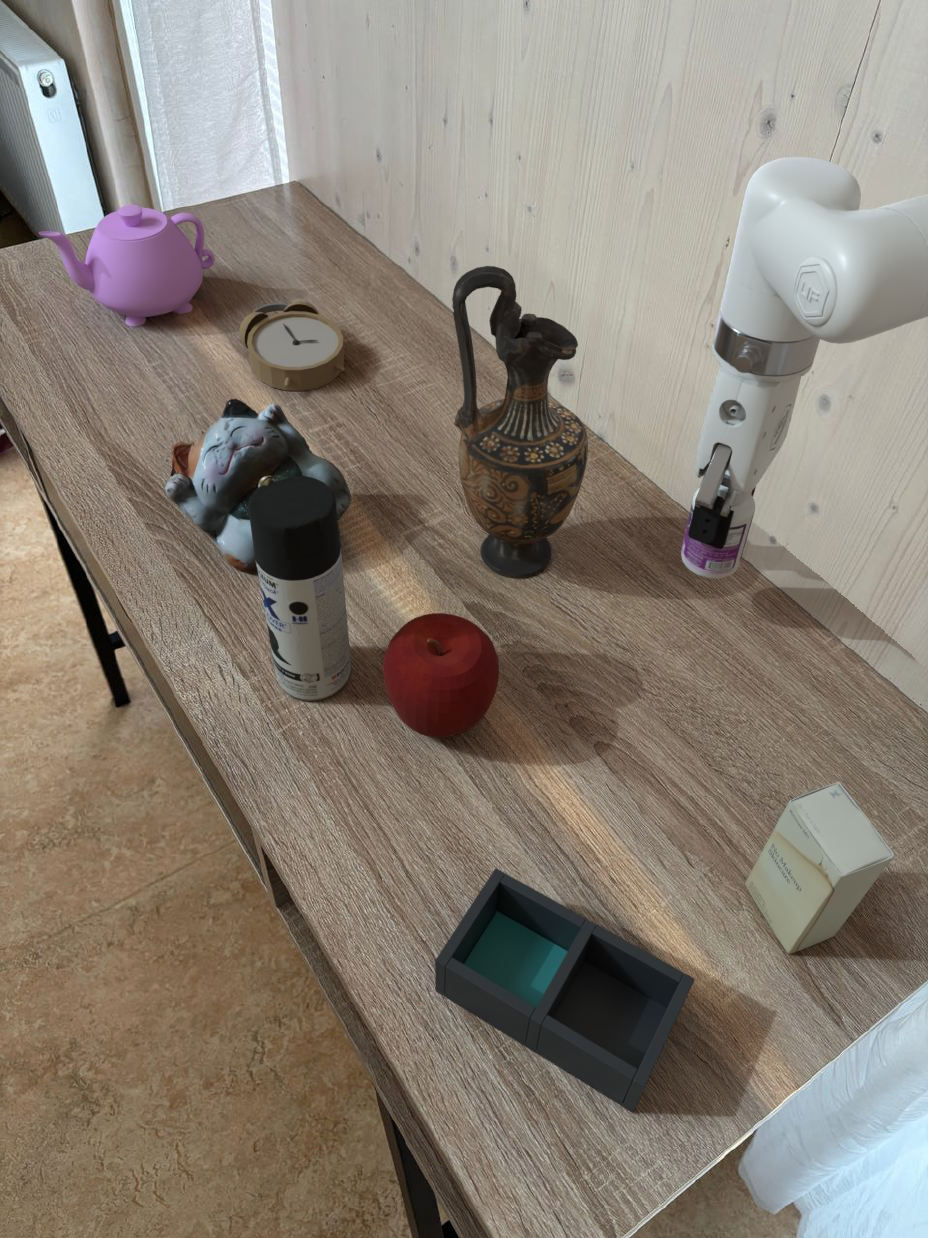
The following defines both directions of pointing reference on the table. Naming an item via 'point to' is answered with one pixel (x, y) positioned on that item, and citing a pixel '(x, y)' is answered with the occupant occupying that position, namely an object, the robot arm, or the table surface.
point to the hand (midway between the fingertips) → (719, 519)
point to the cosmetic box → (816, 867)
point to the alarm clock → (292, 346)
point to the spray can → (302, 585)
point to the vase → (517, 433)
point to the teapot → (139, 263)
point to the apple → (440, 674)
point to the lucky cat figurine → (243, 474)
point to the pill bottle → (728, 558)
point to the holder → (562, 987)
